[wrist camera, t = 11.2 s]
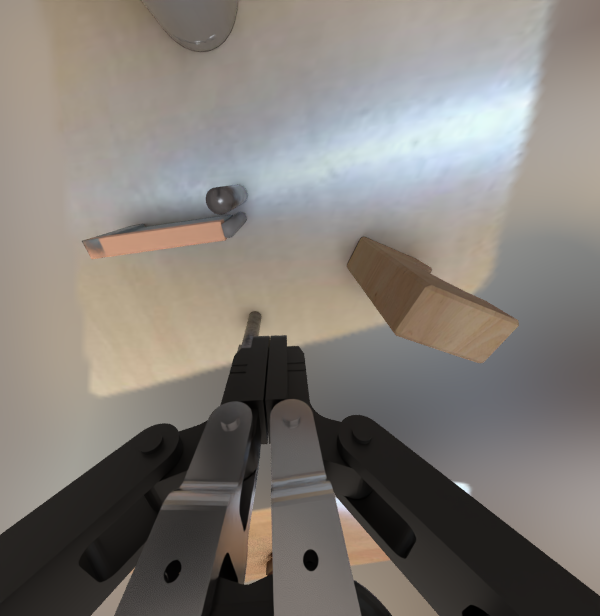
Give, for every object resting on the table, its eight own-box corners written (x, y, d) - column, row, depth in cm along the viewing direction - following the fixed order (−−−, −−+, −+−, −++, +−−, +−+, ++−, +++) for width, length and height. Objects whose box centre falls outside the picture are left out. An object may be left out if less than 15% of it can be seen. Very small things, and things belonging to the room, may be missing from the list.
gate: (244, 209, 34) (232, 219, 25) (248, 224, 35) (237, 238, 26) (131, 225, 34) (81, 241, 26) (137, 240, 35) (91, 259, 27)
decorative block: (418, 260, 40) (525, 324, 22) (399, 289, 42) (481, 367, 25) (362, 234, 37) (431, 283, 20) (344, 266, 40) (393, 336, 22)
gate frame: (227, 185, 33) (201, 187, 22) (248, 184, 33) (231, 186, 23) (248, 322, 44) (236, 367, 33) (263, 321, 44) (257, 366, 33)
